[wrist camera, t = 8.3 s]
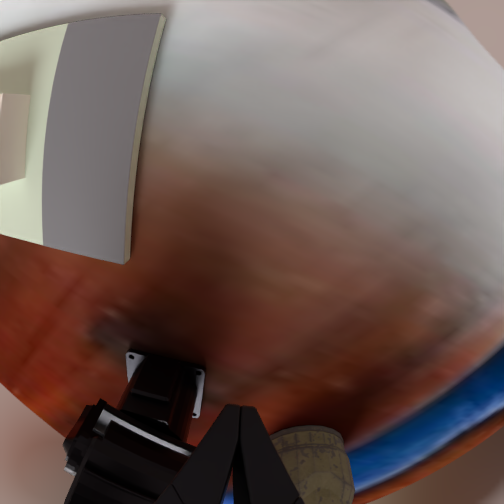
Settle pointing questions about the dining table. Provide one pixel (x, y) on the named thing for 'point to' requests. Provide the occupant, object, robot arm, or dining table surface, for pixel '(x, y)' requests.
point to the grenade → (316, 463)
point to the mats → (94, 133)
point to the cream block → (13, 136)
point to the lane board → (40, 87)
